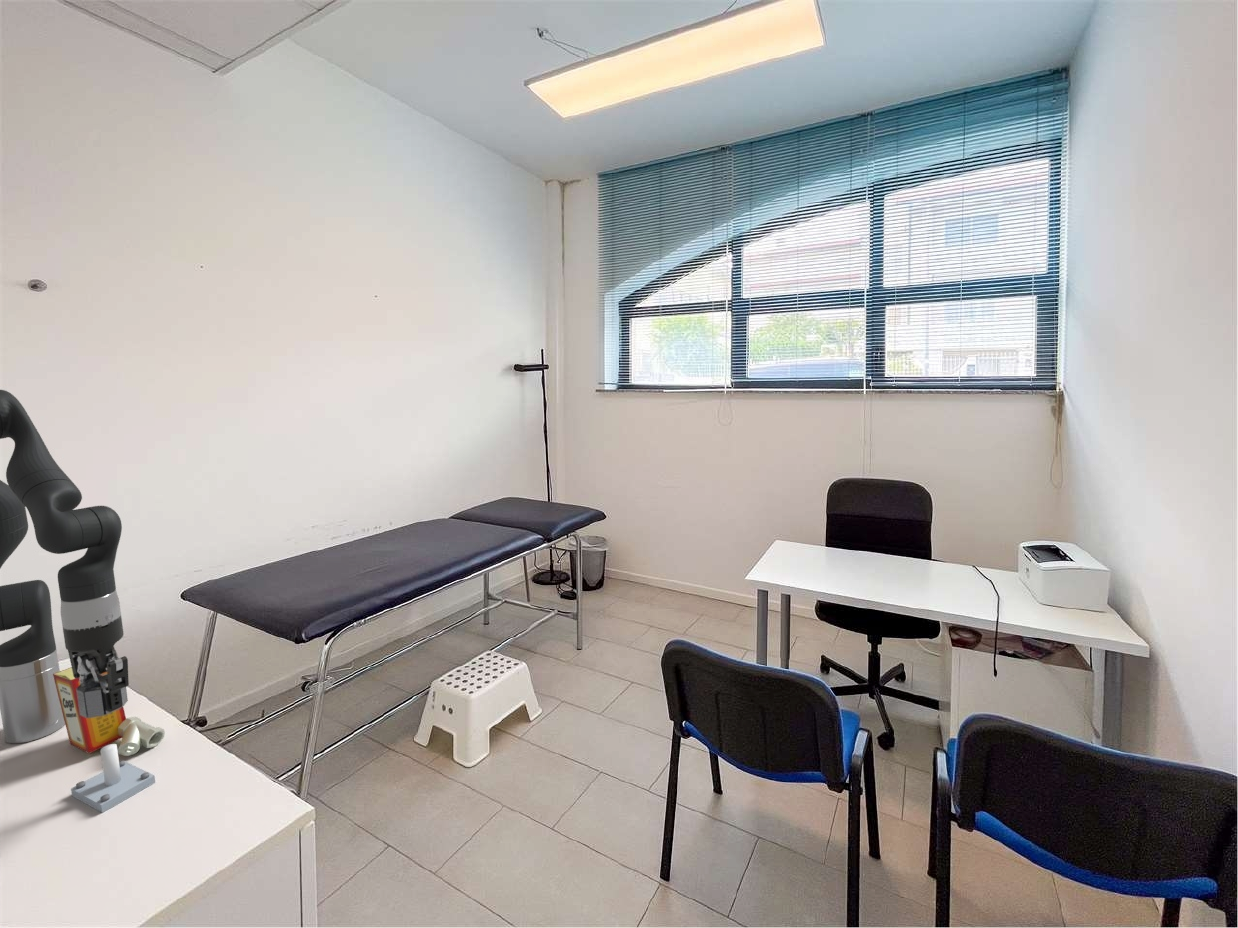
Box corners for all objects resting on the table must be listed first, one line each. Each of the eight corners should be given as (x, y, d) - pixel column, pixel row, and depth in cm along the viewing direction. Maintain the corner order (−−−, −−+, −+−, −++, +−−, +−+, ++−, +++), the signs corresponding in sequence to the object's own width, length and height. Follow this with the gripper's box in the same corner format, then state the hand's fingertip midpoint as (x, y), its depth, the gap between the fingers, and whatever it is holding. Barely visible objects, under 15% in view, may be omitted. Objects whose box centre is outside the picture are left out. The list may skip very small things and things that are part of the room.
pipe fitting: (129, 764, 108) (164, 740, 114) (128, 748, 107) (164, 725, 113) (99, 749, 110) (136, 727, 116) (98, 734, 108) (135, 712, 115)
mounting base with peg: (71, 795, 99) (65, 753, 98) (125, 767, 106) (119, 728, 105) (102, 812, 95) (96, 769, 94) (155, 782, 103) (150, 741, 101)
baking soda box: (70, 743, 113) (52, 672, 111) (110, 725, 119) (93, 657, 117) (89, 753, 108) (70, 678, 107) (129, 734, 114) (113, 662, 112)
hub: (73, 712, 97) (70, 686, 96) (115, 694, 103) (111, 670, 102) (92, 720, 95) (89, 694, 94) (133, 702, 100) (130, 677, 100)
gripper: (42, 619, 95) (55, 706, 98) (88, 635, 90) (100, 726, 93) (96, 603, 102) (107, 684, 105) (141, 617, 97) (151, 703, 99)
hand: (104, 704), depth 99 cm, fingers closed on hub, 6 cm apart
